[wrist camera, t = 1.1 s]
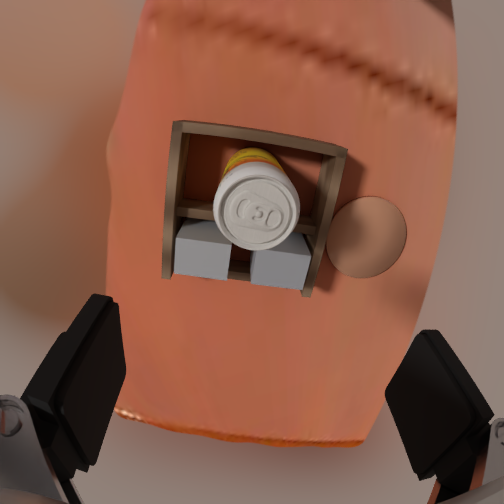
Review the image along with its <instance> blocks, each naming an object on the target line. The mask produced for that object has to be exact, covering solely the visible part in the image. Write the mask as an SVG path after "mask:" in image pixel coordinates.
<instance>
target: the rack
mask: <svg viewBox="0 0 504 504" xmlns="http://www.w3.org/2000/svg"><path fill="white" fill-rule="evenodd" d="M190 133H195V134H204V135H213V136H221V137H229V138H236V139H244V140H250V141H257V142H263V143H269V144H275V145H281V146H287V147H292V148H297V149H302V150H308V151H313V152H317V153H322V154H324V155H323V160H322V165H321V169H320V174H319V179H318V183H317V188H316V193H315V197H314V202H313V206H312V211H311V215H310V216H305V215H299V218H298V221H297V224H296V226H295V228H294V229H293V231H292V232H296V233H303V234H306V236H305V242H306V245H307V247H308V249H309V252H310V254H311V260H310V263H309V267H308V271H307V275H306V279H305V282H304V286H303V290H300V291H301V295H302V297H311V293H312V290H313V286H314V283H315V280H316V276H317V272H318V269H319V265H320V262H321V258H322V254H323V251H324V247H325V243H326V239H327V236H328V232H329V228H330V224H331V220H332V216H333V212H334V208H335V204H336V200H337V196H338V191H339V187H340V183H341V178H342V174H343V170H344V165H345V160H346V156H347V151H348V149H346V148H344V147H341V146H338V145H336V144H332V143H328V142H323V141H318V140H314V139H309V138H304V137H299V136H294V135H289V134H283V133H277V132H272V131H266V130H260V129H253V128H246V127H239V126H232V125H224V124H216V123H207V122H198V121H188V120H179V121H173V125H172V133H171V142H170V151H169V161H168V172H167V183H166V196H165V210H164V227H163V248H162V278H164V279H171V276H172V274H173V272H174V262H175V244H176V236H177V235H178V233H179V231H180V229H181V217H190V218H197V219H205V220H213V221H215V218H214V213H213V203H214V202H210V201H202V200H194V199H186V198H183V195H184V184H185V175H186V166H187V157H188V148H189V140H190ZM227 278H228V279H235V280H243V281H251V273H250V262H245V261H238V260H229V267H228V275H227Z"/></svg>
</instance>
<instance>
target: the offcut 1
mask: <svg viewBox="0 0 504 504" xmlns="http://www.w3.org/2000/svg"><path fill="white" fill-rule="evenodd" d="M231 246H232V242H231V241H230V240H228V239H227V238H226V237H225V236H224V235H223V234H222V233H221V231H220V230H219V228H218V226H217V224H216V222H215V221H213V220H205V219H197V218H190V217H187V218H186V220H185V221H184V223H183V225H182V227H181V229H180V231H179V233H178V235H177V236H176V244H175V262H174V273H176V274H183V275H190V276H197V277H204V278H211V279H219V280H226V281H227V275H228V267H229V260H230V253H231Z"/></svg>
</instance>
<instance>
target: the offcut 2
mask: <svg viewBox="0 0 504 504" xmlns="http://www.w3.org/2000/svg"><path fill="white" fill-rule="evenodd" d="M310 260H311V254H310V252H309V249H308V247H307V245H306V242H305V240H304V238H303V235H302V233H296V232H291V233H290V235H289V236H288V237H287V238H286V239H285V240H284V241H283V242H281V243H280V244H278V245H277V246H275V247H273V248H270V249H266V250H259V251H254V250H251V252H250V273H251V284H257V285H265V286H273V287H282V288H290V289H299V290H303V286H304V282H305V279H306V275H307V271H308V267H309V263H310Z"/></svg>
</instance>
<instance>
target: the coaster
mask: <svg viewBox="0 0 504 504" xmlns="http://www.w3.org/2000/svg"><path fill="white" fill-rule="evenodd" d="M405 239H406V225H405V221H404V218H403V216H402V214H401V212H400V211H399V210H398V208H397V207H396V206H395V205H393V204H392V203H391V202H389V201H388V200H386V199H384V198H380V197H376V196H365V197H360V198H357V199H354V200H352V201H350V202H348V203H347V204H345V205H344V206H343V207H342V208H341V209H340V210H339V211H338V212H337V213H336V214H335V215H334V217H333V218H332V220H331V224H330V228H329V232H328V236H327V239H326V250H327V253H328V256H329V258H330V260H331V262H332V264H333V265H334V266H335V267H336V268H337V269H338V270H339V271H340V272H341V273H343V274H345V275H347V276H350V277H354V278H368V277H372V276H375V275H378V274H380V273H382V272H383V271H385V270H386V269H388V268H389V267H390V266H391V265H392V264H393V263H394V262H395V261H396V260H397V258H398V257H399V255H400V253H401V252H402V249H403V247H404V244H405Z"/></svg>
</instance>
